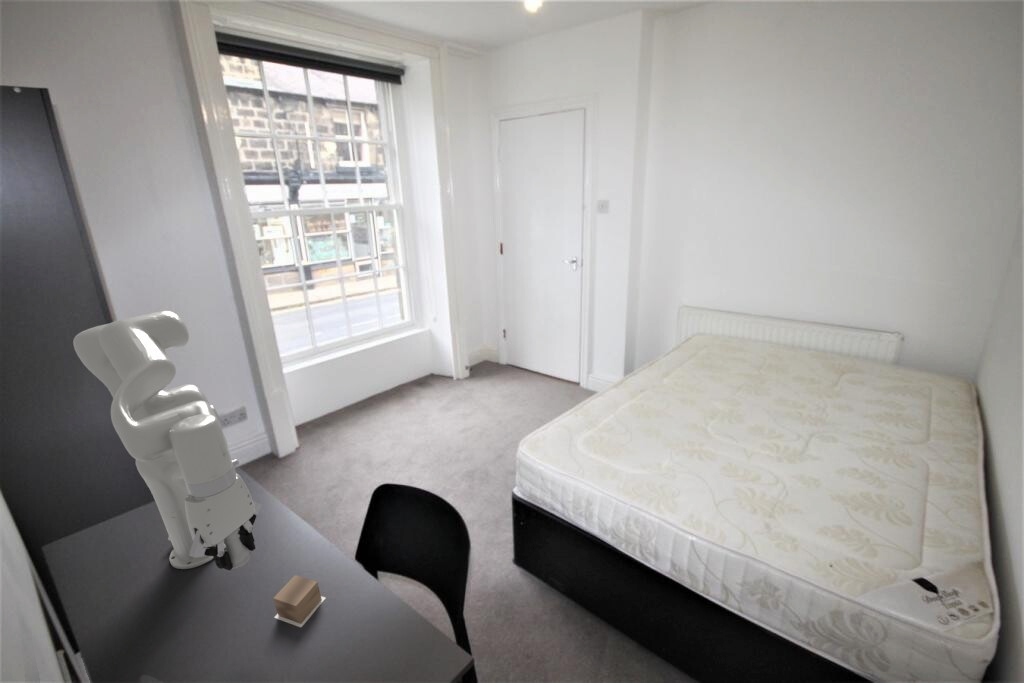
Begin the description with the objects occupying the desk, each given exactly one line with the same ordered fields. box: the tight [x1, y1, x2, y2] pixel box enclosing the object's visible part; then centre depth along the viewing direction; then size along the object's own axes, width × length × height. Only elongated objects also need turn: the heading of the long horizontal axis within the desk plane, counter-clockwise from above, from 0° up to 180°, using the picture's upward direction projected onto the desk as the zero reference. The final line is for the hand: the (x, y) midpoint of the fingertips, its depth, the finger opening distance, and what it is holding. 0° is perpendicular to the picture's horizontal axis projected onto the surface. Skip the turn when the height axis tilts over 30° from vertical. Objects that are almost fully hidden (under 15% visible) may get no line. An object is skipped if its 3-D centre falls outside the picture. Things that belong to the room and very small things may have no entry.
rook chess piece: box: [224, 528, 252, 570], centre depth 88 cm, size 4×4×8 cm
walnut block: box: [272, 574, 322, 624], centre depth 95 cm, size 6×6×5 cm
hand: (237, 557), depth 89 cm, fingers closed on rook chess piece, 4 cm apart
